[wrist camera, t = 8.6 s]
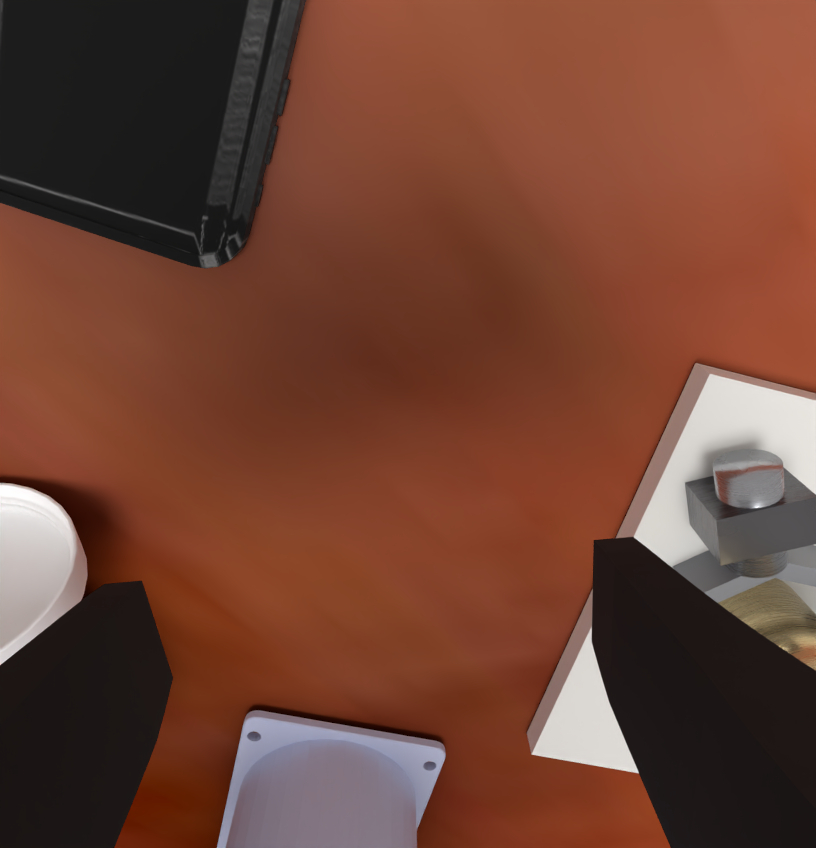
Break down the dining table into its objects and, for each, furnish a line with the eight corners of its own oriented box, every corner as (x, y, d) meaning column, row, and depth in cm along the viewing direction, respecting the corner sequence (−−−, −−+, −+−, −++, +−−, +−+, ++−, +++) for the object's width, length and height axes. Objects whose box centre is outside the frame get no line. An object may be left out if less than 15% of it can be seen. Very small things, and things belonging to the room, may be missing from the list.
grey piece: (779, 526, 21) (819, 568, 19) (692, 547, 21) (722, 589, 19) (774, 434, 20) (817, 468, 18) (681, 457, 20) (713, 493, 18)
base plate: (753, 773, 27) (788, 834, 25) (526, 732, 26) (539, 792, 24) (980, 435, 21) (1054, 473, 19) (695, 362, 20) (735, 394, 17)
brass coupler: (824, 597, 22) (988, 763, 16) (756, 681, 24) (884, 864, 18) (727, 559, 22) (860, 718, 15) (663, 648, 23) (762, 826, 17)
